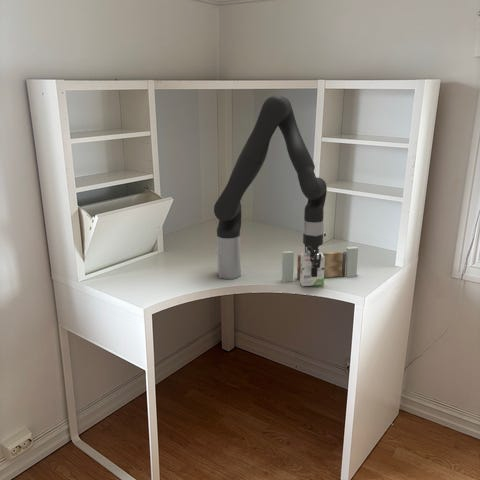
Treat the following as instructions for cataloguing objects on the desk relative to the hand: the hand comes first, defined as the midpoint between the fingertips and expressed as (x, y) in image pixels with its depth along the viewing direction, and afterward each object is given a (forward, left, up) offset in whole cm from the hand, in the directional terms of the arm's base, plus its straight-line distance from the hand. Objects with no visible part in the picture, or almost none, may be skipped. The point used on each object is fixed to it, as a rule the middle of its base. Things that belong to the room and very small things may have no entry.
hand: (311, 273), depth 189 cm
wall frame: (+5, +6, -5) cm, 10 cm away
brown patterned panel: (+6, +7, -5) cm, 11 cm away
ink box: (0, 0, -4) cm, 4 cm away
